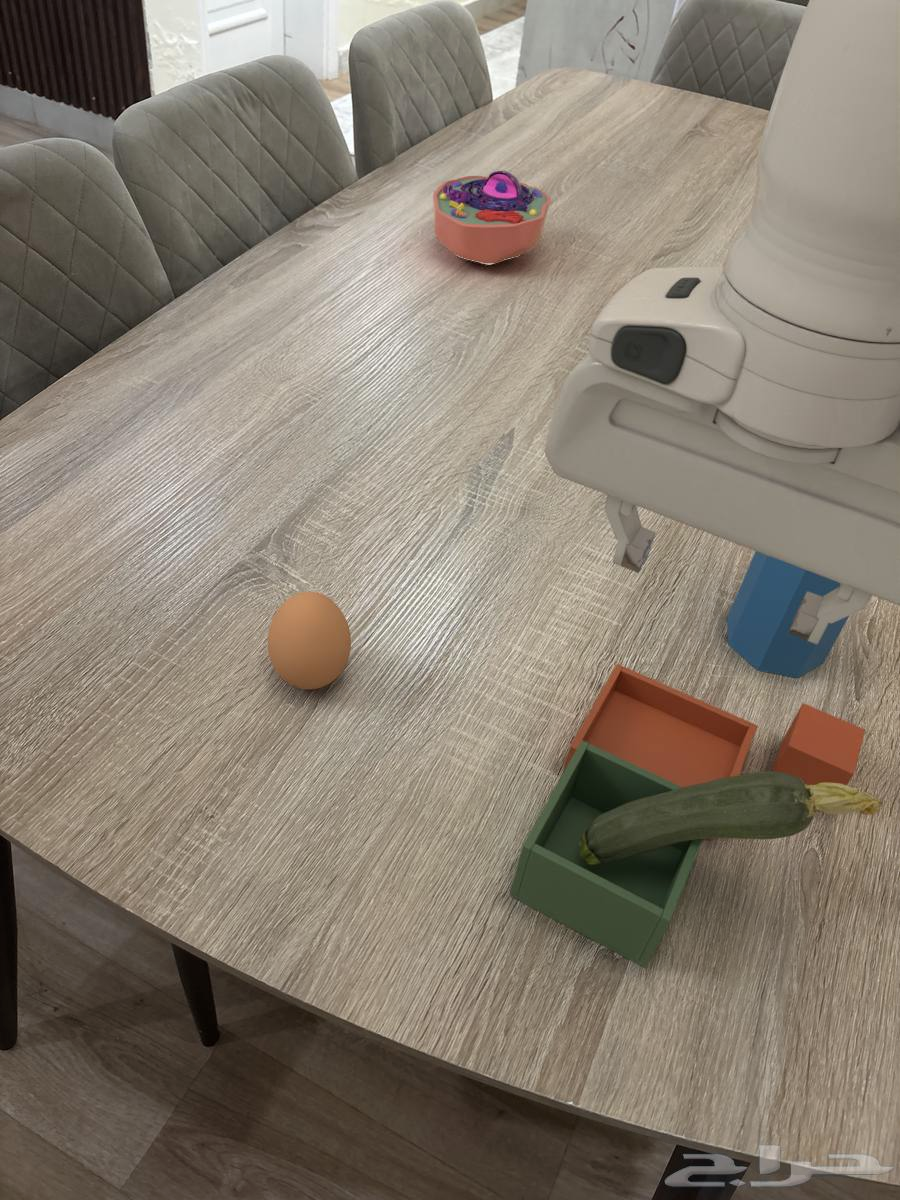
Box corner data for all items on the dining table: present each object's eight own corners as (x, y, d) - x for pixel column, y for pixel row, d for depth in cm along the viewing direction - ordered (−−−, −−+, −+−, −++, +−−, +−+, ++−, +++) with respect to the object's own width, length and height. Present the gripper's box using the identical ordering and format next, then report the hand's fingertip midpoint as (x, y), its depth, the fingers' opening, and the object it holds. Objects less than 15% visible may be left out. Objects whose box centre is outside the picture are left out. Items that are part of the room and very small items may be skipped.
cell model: (399, 257, 138) (404, 178, 130) (474, 219, 150) (483, 145, 143) (496, 296, 132) (507, 215, 124) (565, 253, 144) (579, 177, 137)
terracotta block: (841, 767, 77) (866, 729, 73) (829, 811, 73) (854, 774, 70) (781, 740, 78) (803, 702, 75) (766, 783, 75) (788, 745, 71)
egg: (338, 715, 76) (340, 637, 69) (258, 700, 76) (253, 620, 70) (358, 656, 80) (361, 578, 74) (283, 642, 81) (279, 563, 74)
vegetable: (559, 819, 65) (865, 763, 56) (576, 796, 68) (865, 741, 60) (579, 879, 65) (887, 833, 56) (595, 853, 69) (886, 806, 60)
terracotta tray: (746, 748, 77) (758, 725, 75) (710, 840, 70) (722, 818, 68) (609, 686, 81) (617, 663, 79) (563, 769, 74) (570, 746, 72)
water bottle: (807, 694, 82) (937, 461, 65) (708, 646, 85) (807, 411, 68) (837, 634, 88) (963, 405, 71) (744, 591, 91) (843, 362, 74)
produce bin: (691, 852, 70) (716, 803, 65) (645, 968, 63) (670, 921, 58) (565, 791, 72) (581, 739, 68) (508, 895, 66) (522, 845, 61)
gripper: (1079, 402, 38) (929, 638, 48) (611, 261, 44) (561, 496, 53) (1075, 479, 34) (911, 721, 43) (558, 311, 40) (513, 557, 49)
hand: (714, 596), depth 48 cm, fingers open, 8 cm apart
